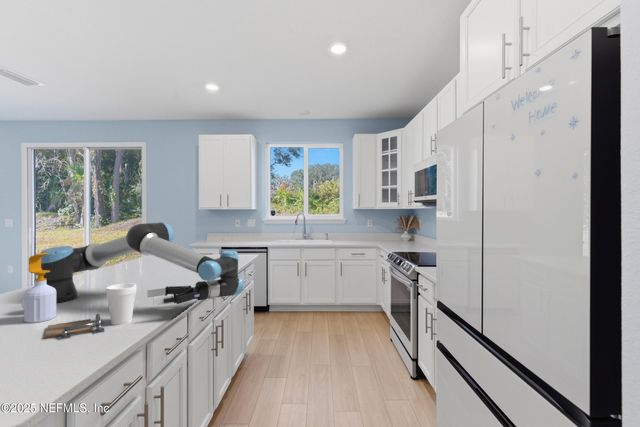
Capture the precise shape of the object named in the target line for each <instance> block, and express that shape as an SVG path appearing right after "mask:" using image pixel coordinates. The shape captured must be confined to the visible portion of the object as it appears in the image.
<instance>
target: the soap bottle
mask: <svg viewBox="0 0 640 427" xmlns="http://www.w3.org/2000/svg"><path fill="white" fill-rule="evenodd" d="M40 253H41V252H40ZM40 253H37V254H34V255H31V256H29V258H28V272H29V273H30V274H35V276H37V278H35V279H34V285H33V286H32V287H30V288H29V289H27V290H26V291H25V293H24V295H23V300H24V309H23V321H24V323H26V324H27V323H28V324H36V323H43V322H47V321H51V320H53V319H55V318H56V317H57V303H56V289H55V288H53V287H52V286H49V285H47V284H46V278H44V275H45V274H46V272H50V271H49V270H42V269H41V258H42V256H44V255H47V254H49V253H41V254H40Z"/></svg>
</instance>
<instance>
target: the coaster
mask: <svg viewBox="0 0 640 427" xmlns="http://www.w3.org/2000/svg"><path fill="white" fill-rule="evenodd" d="M87 323H92V319H91V318H88V319H81V320H76V321H69V322H62V323H56V324H50V325H49V324H48V325H47V328H46V330H45V335H44V340H48V339H53V338H54V339H55V338H59V335H62V331H64V330H65V327H69V326H75V325H81V324H87ZM87 332H92V327H86V328H80V329H74V330H68V331H67V334H71V336H72V335H76V334H81V333H87Z"/></svg>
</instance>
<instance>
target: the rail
mask: <svg viewBox="0 0 640 427" xmlns="http://www.w3.org/2000/svg"><path fill="white" fill-rule="evenodd" d="M102 324H104V319H101V315H100V313H97V314H95V320H93V321H92V322H91V323H87V324H81V325H75V326H69V327H65V330H64V331H62V335H59V337H57V338H58V339H57V340H58V341H60V340H65V339H71V336H72V335H71V334H67V331H68V330H74V329H80V328H86V327H91V328H92V327H95V328H96V329H93V334H98V333H104V332H105V327H102Z"/></svg>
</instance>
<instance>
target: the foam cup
mask: <svg viewBox="0 0 640 427" xmlns="http://www.w3.org/2000/svg"><path fill="white" fill-rule="evenodd" d="M137 286H138V285H137V284H136V283H131V282H130V283H118V284H111V285H108V286H107V287H105V295H106V298H107V305H108V312H109V320H110V322H111V323H110V324H111V325H112V326H120V325H121V326H122V325H126V324H129V323H130V322H132V320H133V313H134V307H135V302H136V300H135V299H136V294H137V292H138V291H137V290H138V287H137Z"/></svg>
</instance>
